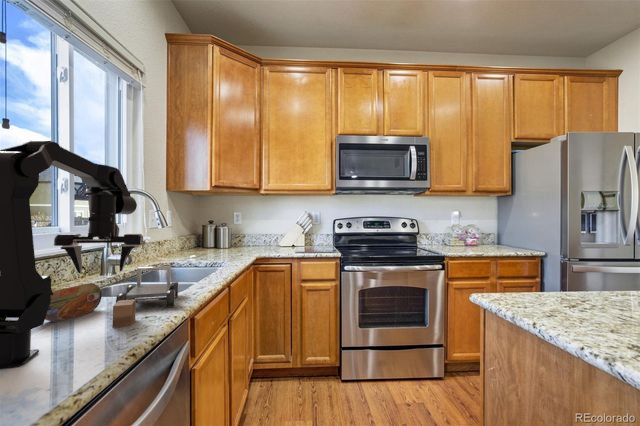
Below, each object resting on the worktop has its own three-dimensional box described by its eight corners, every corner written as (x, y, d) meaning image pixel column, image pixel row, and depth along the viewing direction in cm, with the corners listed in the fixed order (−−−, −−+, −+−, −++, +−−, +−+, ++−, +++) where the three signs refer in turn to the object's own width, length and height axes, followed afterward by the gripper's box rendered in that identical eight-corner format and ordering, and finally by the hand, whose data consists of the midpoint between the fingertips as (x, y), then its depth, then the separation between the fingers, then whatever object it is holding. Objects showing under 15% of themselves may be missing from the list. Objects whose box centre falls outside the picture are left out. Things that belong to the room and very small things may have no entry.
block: (130, 326, 77) (131, 304, 77) (112, 328, 76) (113, 305, 76) (135, 319, 82) (135, 299, 82) (117, 321, 80) (118, 300, 81)
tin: (43, 326, 76) (45, 292, 76) (35, 324, 77) (36, 291, 77) (102, 309, 91) (103, 281, 91) (94, 308, 92) (95, 280, 92)
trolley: (173, 308, 92) (174, 273, 92) (115, 313, 87) (116, 275, 87) (178, 294, 108) (179, 265, 108) (129, 298, 103) (130, 266, 103)
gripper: (146, 215, 93) (145, 266, 92) (71, 213, 86) (69, 269, 85) (140, 214, 82) (139, 272, 82) (54, 212, 75) (51, 275, 75)
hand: (100, 272), depth 81 cm, fingers open, 9 cm apart
